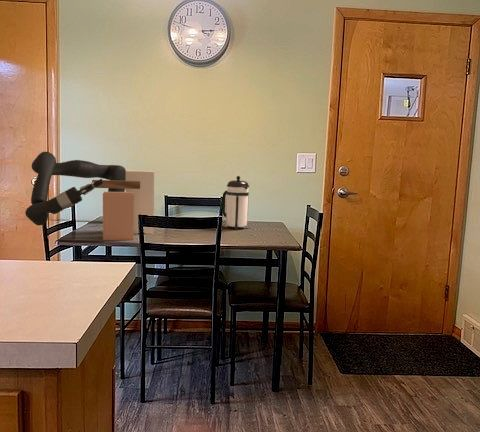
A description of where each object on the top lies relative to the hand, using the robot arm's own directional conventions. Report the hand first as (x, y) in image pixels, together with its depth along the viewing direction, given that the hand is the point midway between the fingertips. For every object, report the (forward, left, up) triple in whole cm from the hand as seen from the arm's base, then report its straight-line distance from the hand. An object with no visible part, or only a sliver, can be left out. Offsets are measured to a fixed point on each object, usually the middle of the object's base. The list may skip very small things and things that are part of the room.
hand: (102, 180), depth 211 cm
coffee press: (-59, +48, -28) cm, 81 cm away
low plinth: (-4, +6, -28) cm, 29 cm away
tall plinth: (-22, +8, -28) cm, 36 cm away
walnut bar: (-3, +6, -3) cm, 7 cm away
